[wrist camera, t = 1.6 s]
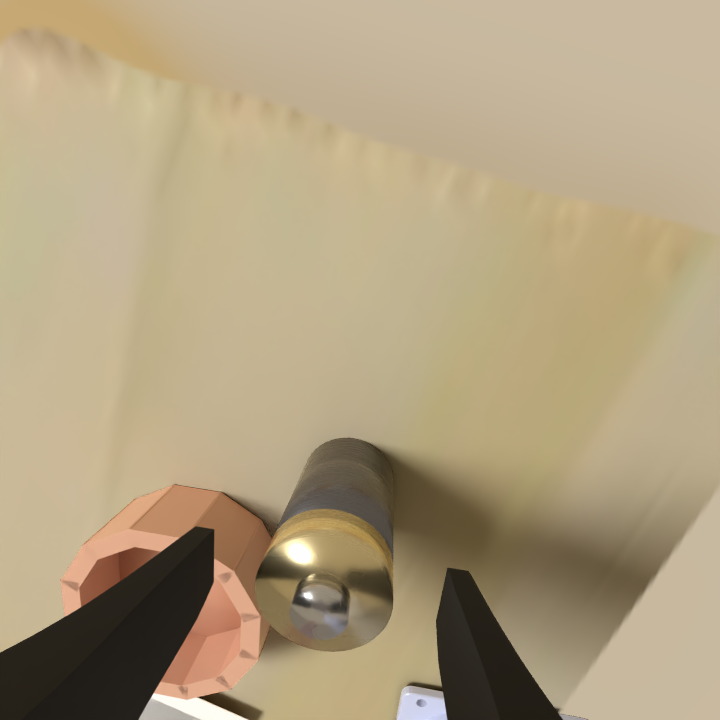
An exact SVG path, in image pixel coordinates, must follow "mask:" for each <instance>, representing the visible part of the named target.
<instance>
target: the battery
mask: <svg viewBox="0 0 720 720" xmlns="http://www.w3.org/2000/svg"><path fill="white" fill-rule="evenodd" d="M393 504H394V479H393V472H392V469H391V466H390V464H389V462H388V460H387V459H386V457H385V456H384V455H383V454H382V453H381V451H379V450H378V449H377V448H376V447H374V446H373V445H371V444H369V443H367V442H365V441H362V440H359V439H354V438H339V439H334V440H331V441H328V442H326V443H324V444H322V445H321V446H319V447H318V448H317V449H316V450H315V451H314V452H313V453H312V454H311V456H310V457H309V459H308V461H307V463H306V466H305V468H304V470H303V472H302V474H301V477H300V479H299V481H298V483H297V485H296V488H295V490H294V492H293V494H292V496H291V499H290V501H289V503H288V505H287V507H286V510H285V512H284V514H283V516H282V518H281V521H280V523H279V525H278V527H277V529H276V532H275V534H274V536H273V538H272V540H271V543H270V545H269V547H268V549H267V551H266V554H265V556H264V558H263V560H262V562H261V565H260V567H259V569H258V571H257V575H256V578H255V596H256V601H257V603H258V606H259V609H260V611H261V613H262V614H263V616H264V617H265V619H266V620H267V621H268V623H269V624H270V625H271V626H272V627H273V628H274V629H275V630H276V631H277V632H278V633H280V634H281V635H282V636H284V637H285V638H287V639H289V640H290V641H292V642H294V643H296V644H298V645H301V646H304V647H307V648H310V649H314V650H319V651H331V652H335V651H345V650H351V649H354V648H357V647H360V646H362V645H364V644H366V643H368V642H370V641H371V640H373V639H374V638H375V637H377V636H378V635H379V634H380V633H381V632H382V630H383V629H384V628H385V626H386V625H387V623H388V621H389V619H390V617H391V613H392V609H393Z"/></svg>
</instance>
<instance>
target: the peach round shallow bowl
mask: <svg viewBox="0 0 720 720" xmlns="http://www.w3.org/2000/svg"><path fill="white" fill-rule="evenodd" d="M195 526H198V527H204V528H210V529H214V583H213V586H212V588H211V590H210V592H209V595H208V597H207V599H206V601H205V603H204V606H203V608H202V610H201V612H200V614H199V616H198V618H197V620H196V622H195V624H194V625H193V627H192V629H191V631H190V632H189V634H188V636H187V637H186V639H185V641H184V643H183V644H182V646H181V648H180V649H179V651H178V653H177V655H176V656H175V658H174V660H173V661H172V663H171V665H170V666H169V668H168V670H167V671H166V673H165V675H164V677H163V678H162V680H161V682H160V683H159V685H158V687H157V688H156V690H155V692H154V693H155V694H160V695H165V696H170V697H175V698H180V699H185V700H188V699H192V698H197V697H201V696H205V695H209V694H213V693H218V692H222V691H226V690H230V689H232V687H233V686H234V685H235V684H236V683H237V682H238V681H239V680H240V679H241V678H242V677H243V676H244V674H245V673H246V672H247V671H248V670H249V669H250V668H251V667H252V666H253V665H254V664H255V663H256V662H257V661H258V660H259V657H260V654H261V651H262V649H263V646H264V643H265V640H266V637H267V634H268V631H269V629H270V626H271V625H270V624H269V623H268V621H267V620H266V619H265V617H264V616H263V614H262V613H261V611H260V609H259V606H258V603H257V601H256V596H255V578H256V575H257V571H258V569H259V567H260V565H261V562H262V560H263V558H264V556H265V554H266V551H267V549H268V547H269V545H270V543H271V540H272V538H271V536H270V535H269V533H268V531H267V529H266V527H265V526H264V524H263V522H262V520H261V519H259V518H258V517H256V516H255V515H253V514H252V513H250V512H249V511H247V510H246V509H245V508H243V507H242V506H240V505H239V504H237V503H236V502H234V501H233V500H231V499H230V498H229V497H227V496H226V495H224V494H223V493H222V492H216V491H209V490H203V489H197V488H191V487H184V486H178V485H172V486H169V487H167V488H164V489H161V490H159V491H156V492H153V493H151V494H148V495H145V496H143V497H140V498H137V499H134V500H133V501H132V502H131V503H130V504H129V505H127V506H126V507H125V508H124V509H123V510H122V511H121V512H119V513H118V514H117V515H116V516H115V517H114V518H113V519H111V520H110V521H109V522H108V523H107V524H106V525H105V526H104V527H102V528H101V529H100V530H99V531H98V532H97V533H96V534H94V535H93V536H92V537H91V538H90V539H89V540H88V541H86V542H85V543H84V544H83V545H82V547H81V549H80V550H79V552H78V554H77V555H76V557H75V558H74V560H73V562H72V563H71V565H70V566H69V568H68V570H67V571H66V573H65V574H64V576H63V578H62V579H61V587H62V596H63V604H64V613H65V617H66V616H67V615H69V614H71V613H72V612H74V611H76V610H77V609H79V608H80V607H82V606H84V605H85V604H87V603H88V602H90V601H91V600H93V599H94V598H96V597H97V596H99V595H100V594H102V593H103V592H105V591H106V590H108V589H109V588H111V587H112V586H114V585H115V584H117V583H118V582H120V581H121V580H123V579H124V578H125V577H127V576H128V575H130V574H131V573H132V572H134V571H135V570H137V569H138V568H139V567H141V566H142V565H144V564H145V563H146V562H148V561H149V560H150V559H152V558H153V557H155V556H156V555H157V554H159V553H160V552H161V551H163V550H164V549H165V548H167V547H168V546H169V545H171V544H172V543H173V542H175V541H176V540H177V539H179V538H180V537H181V536H183V535H184V534H185V533H187V532H188V531H190V530H191V529H192V528H194V527H195Z"/></svg>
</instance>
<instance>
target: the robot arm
mask: <svg viewBox="0 0 720 720" xmlns="http://www.w3.org/2000/svg"><path fill="white" fill-rule="evenodd" d="M213 583H214V529H210V528H204V527H198V526H195V527H194V528H192V529H191V530H190V531H188V532H187V533H185V534H184V535H183V536H181V537H180V538H179V539H177V540H176V541H175V542H173V543H172V544H171V545H169V546H168V547H167V548H165V549H164V550H163V551H161V552H160V553H159V554H157V555H156V556H155V557H153V558H152V559H150V560H149V561H148V562H146V563H145V564H144V565H142V566H141V567H139V568H138V569H137V570H135V571H134V572H132V573H131V574H130V575H128V576H127V577H125V578H124V579H123V580H121V581H120V582H118V583H117V584H115V585H114V586H112V587H111V588H109V589H108V590H106V591H105V592H103V593H102V594H100V595H99V596H97V597H96V598H94V599H93V600H91V601H90V602H88V603H87V604H85V605H84V606H82V607H80V608H79V609H77V610H76V611H74V612H72V613H71V614H69V615H67V616H66V617H64V618H62V619H61V620H59V621H57V622H55V623H54V624H52V625H50V626H49V627H47V628H45V629H43V630H42V631H40V632H38V633H36V634H35V635H33V636H31V637H29V638H27V639H25V640H23V641H22V642H20V643H18V644H16V645H14V646H12V647H10V648H8V649H6V650H4V651H3V652H1V653H0V720H139V718H140V716H141V714H142V712H143V711H144V709H145V707H146V705H147V704H148V702H149V700H150V699H151V697H152V695H153V694H154V692H155V690H156V688H157V687H158V685H159V683H160V682H161V680H162V678H163V677H164V675H165V673H166V671H167V670H168V668H169V666H170V665H171V663H172V661H173V660H174V658H175V656H176V655H177V653H178V651H179V649H180V648H181V646H182V644H183V643H184V641H185V639H186V637H187V636H188V634H189V632H190V631H191V629H192V627H193V625H194V624H195V622H196V620H197V618H198V616H199V614H200V612H201V610H202V608H203V606H204V603H205V601H206V599H207V597H208V595H209V592H210V590H211V588H212V586H213ZM436 628H437V646H438V661H439V669H440V676H441V682H442V689H443V692H442V691H437V690H432V689H427V688H421V687H416V686H406V687H405V688H403V690H402V692H401V697H400V702H399V708H398V713H397V718H396V720H588V719H585V718H580V717H575V716H570V715H564V714H559V713H558V712H557V711H556V709H555V708H554V707H553V705H552V704H551V702H550V701H549V700H548V698H547V697H546V695H545V694H544V693H543V691H542V690H541V688H540V687H539V686H538V684H537V683H536V681H535V680H534V678H533V677H532V675H531V674H530V672H529V671H528V669H527V668H526V666H525V665H524V663H523V662H522V660H521V659H520V657H519V656H518V654H517V653H516V651H515V649H514V648H513V646H512V645H511V643H510V641H509V640H508V638H507V637H506V635H505V633H504V632H503V630H502V628H501V627H500V625H499V623H498V622H497V620H496V618H495V617H494V615H493V613H492V612H491V610H490V608H489V606H488V605H487V603H486V601H485V599H484V598H483V596H482V594H481V592H480V590H479V589H478V587H477V585H476V583H475V581H474V579H473V578H472V576H471V574H470V573H469V571H465V570H458V569H452V568H447V573H446V577H445V582H444V587H443V591H442V596H441V601H440V605H439V610H438V615H437V619H436Z"/></svg>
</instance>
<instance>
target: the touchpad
mask: <svg viewBox="0 0 720 720" xmlns="http://www.w3.org/2000/svg"><path fill="white" fill-rule="evenodd" d="M139 720H248V719H246V718H244V717H242V716H239V715H237V714H235V713H232V712H230V711H228V710H226V709H223V708H221V707H219V706H216V705H214V704H212V703H210V702H207V701H205V700H203V699H200V698H198V697H197V698H192V699H188V700H185V699H180V698H175V697H170V696H165V695H160V694H155V693H154V694H153V695H152V697H151V699H150V700H149V702H148V704H147V705H146V707H145V709H144V711H143V712H142V714H141V716H140V718H139Z"/></svg>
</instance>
